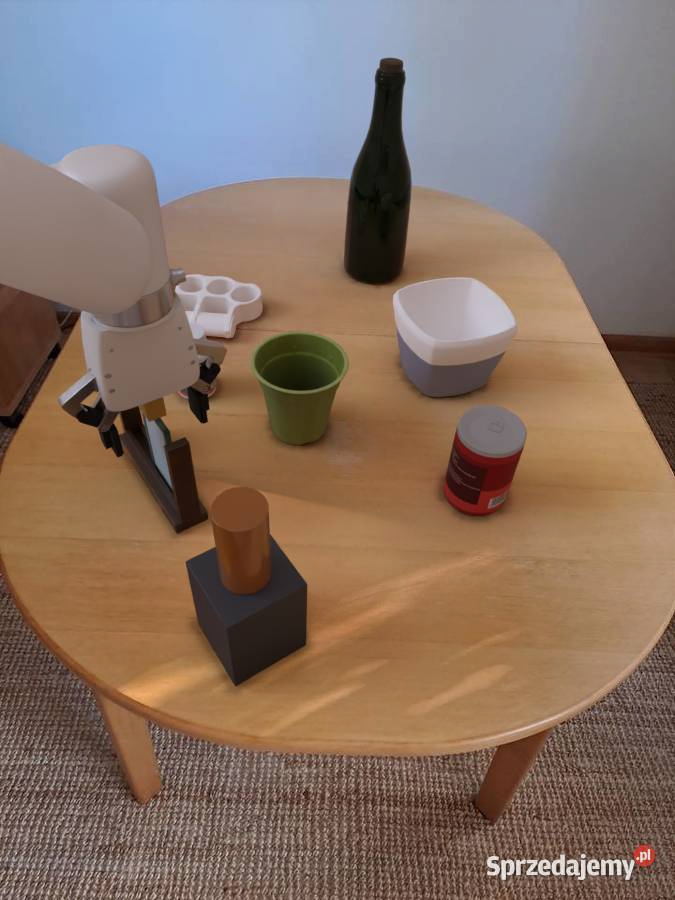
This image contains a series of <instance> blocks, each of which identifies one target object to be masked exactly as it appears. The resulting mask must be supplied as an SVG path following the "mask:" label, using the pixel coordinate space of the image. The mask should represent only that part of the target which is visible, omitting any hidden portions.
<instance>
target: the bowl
mask: <svg viewBox="0 0 675 900" xmlns="http://www.w3.org/2000/svg"><path fill="white" fill-rule="evenodd" d="M392 308H393V315H394V323H395V329H396V336H397V337H396V338H397V343H398V351H399V358H400V364H401V367H402V369H403V372H404V374H405V376H406V378H407V379H408V380H409V382H410V383H411V384H412V385H413V386H414V387H415V388H416V389H417V390H418V391H419V392H421V393H422V394H423V395H425V396H426V397H431V398H441V397H452V396H453V397H454V396H458V395H464V394H468V393H470V392H473V391H475V390H478V389H480V388H482V387H484V386H485V385H486V384H487V383H488V381H489V379H490V378H491V376H492V375H493V373H494V371H495V369H496V368H497V366H498V364H499V363H500V362H501V360H502V358H503V357H504V355H505V353H506V352H507V350H508V349H509V347H510V346H511V344H512V342H513V341H514V339H515V337H516V336H517V334H518V333H519V329H518V325H517V320H516V317H515V315H514V314H513V312H512V311H511V309H510V308H509V306H508V305H507V304H506V302H505V301H504V300H503V299H502V297H500V296H499V295H498V294H497V293H496V292H495V291H494V290H492V289H491V288H490V287H489V286H488V285H486V284H485V283H484V282H481V281H480V280H478V279H476V278H474V277H462V276H458V277H455V276H454V277H445V278H443V277H442V278H435V279H429V280H424V281H421V282H415V283H412V284H409V285H406V286H404V287H402V288H399V289H397V290H396V291H395V292H394V293H393V295H392Z"/></svg>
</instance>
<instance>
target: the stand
mask: <svg viewBox="0 0 675 900" xmlns="http://www.w3.org/2000/svg"><path fill="white" fill-rule="evenodd" d="M270 545H271V565H272V574H271V578H270V580H269V582H268V583H267V585H266V586H265V587H264V588H262V589H261V590H259V591H257V592H255V593H252V594H246V595H242V594H236V593H233V592H231V591H229V590H228V589H227V588H226V587H225V586H224V585H223V584H222V582H221V579H220V574H219V568H218V561H217V554H216V547H215V546H213V547H212V548H210V549H208V550H206V551H203V552H202V553H200V554H198V555H195V556H193V557H191V558H189V559H187V560H185V567H186V571H187V576H188V581H189V586H190V591H191V596H192V601H193V605H194V606H193V607H194V611H195V615H196V621H197V625H198V626H199V628H200V630H201V631H202V633H203V634H204V636H205V639H206V640H207V641H208V643H209V645H210V646H211V648H212V650H213V652H214V653H215V655H216V656H217V658H218V660H219V661H220V664H221V665H222V667H223V668H224V670H225V672H226V673H227V675H228V677H229V679H230V680H231V682H232V684H233V686H234V687H238V686H240V685H241V684H243V683H245V682H247V681H248V680H250V679H251V678H253V677H255V676H256V675H258V674H260V673H261V672H263V671H265V670H267V669H268V668H270V667H272V666H274V665H275V664H277V663H278V662H280V661H282V660H284V659H286V658H287V657H289V656H290V655H291V654H294V653H296V652H297V651H299V650H300V649H302V648H304V647H306V646H307V636H308V634H307V632H308V631H307V630H308V629H307V628H308V582H307V581H306V580H305V578H304V577H303V576H302V575H301V573H300V572H299V571H298V569H297V568H296V567H295V565H294V564H293V562H292V561H291V560H290V559H289V557H288V556H287V554H286V552H284V550H283V549H282V548H281V547H280V545H279V544H278V542H277V541H276V540H275V538H274V537H273V536H272V534H271V533H270Z"/></svg>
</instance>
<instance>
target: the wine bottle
mask: <svg viewBox="0 0 675 900" xmlns="http://www.w3.org/2000/svg"><path fill="white" fill-rule="evenodd" d="M406 80H407V77H406V71H405V70H404V61H403V60H402V59H399V58H397V57H383V58H381V59H380V61H379V66H378V68H376V70H375V73H374V93H373V102H372V110H371V117H370V122H369V127H368V129H367V133H366V136H365V138H364V140H363V143H362V145H361V147H360V150H359V152H358V154H357V156H356V159H355V162H354V163H353V167H352V170H351V175H350V179H349V187H348V195H347V208H346V220H345V232H344V233H345V234H344V235H345V236H344V249H343V250H344V251H343V268H344V270H345V272H346V274H348V275H349V276H350V277H351V278H353V279H354V280H357V281H360V282H362V283H366V284H373V285H374V284H386V283H390V282H393V281H394V280H396V279H398V278H399V277H400V276H401V275H402V273H403V271H404V267H405V261H406V251H407V242H408V234H409V233H408V232H409V222H410V213H411V204H412V203H411V202H412V189H413V188H412V187H413V180H412V179H413V178H412V169H411V163H410V160H409V155H408V152H407V148H406V144H405V143H406V142H405V139H404V130H403V105H404V92H405V91H404V90H405V85H406Z"/></svg>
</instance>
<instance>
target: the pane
mask: <svg viewBox="0 0 675 900" xmlns="http://www.w3.org/2000/svg"><path fill="white" fill-rule="evenodd" d="M139 408H140V412H141V416H142V421H143V424H144V425H145V429H146V433H147V438H148V442H149V446H150V451H151V455H152V460H153V464H154V465H155V467H156V468H157V470H158V471H159V473H160V474H161V476H162V478H163V479H164V481H165V482H166V484H167V485H168V487H169V488H170V490H171V491H172V493H173V489H172V484H171V479H170V475H169V470H168V465H167V460H166V455H165V450H164V445H167V444H169V443H171V442H173V441H172V440H173V439H172V436H171V431H170V429H169V427H168V426H167V425H166V424H165V422H164V421H163V419H162V418H163V417H166V416H167V410H166V404H165V399H164V397H161V398H159V399H156V400H153V401H151V402H148V403H145V404H142V405H139Z"/></svg>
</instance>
